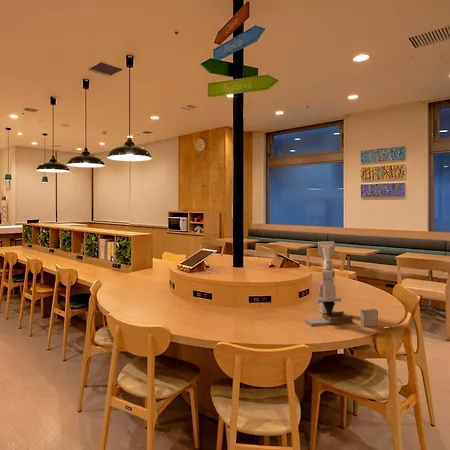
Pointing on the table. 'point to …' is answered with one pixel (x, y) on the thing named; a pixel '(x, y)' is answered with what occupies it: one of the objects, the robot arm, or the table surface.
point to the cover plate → (317, 321)
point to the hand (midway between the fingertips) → (328, 314)
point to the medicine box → (369, 317)
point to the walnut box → (338, 318)
